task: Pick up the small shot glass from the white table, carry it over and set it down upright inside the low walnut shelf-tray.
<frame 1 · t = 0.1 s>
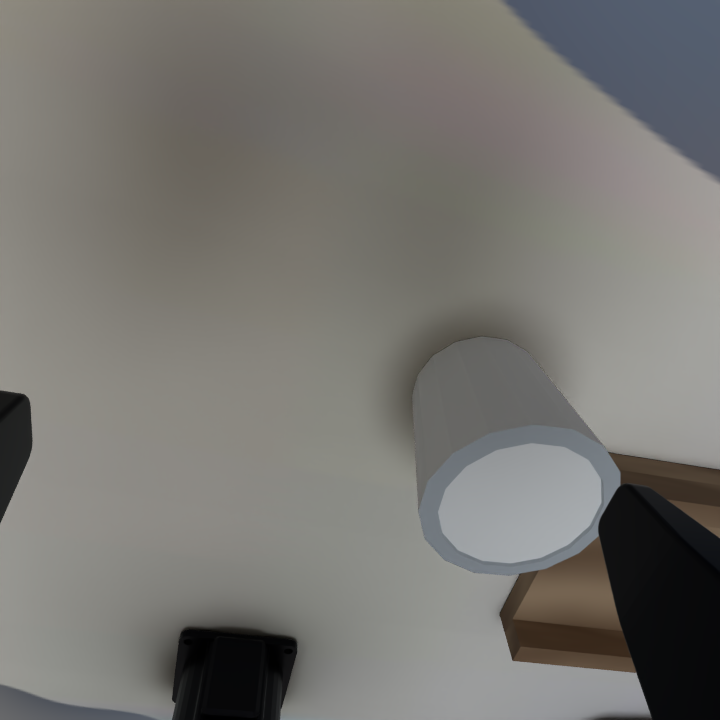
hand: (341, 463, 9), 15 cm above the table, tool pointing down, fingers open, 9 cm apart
tray: (677, 557, 32), on the table
shot glass: (475, 390, 26), on the table
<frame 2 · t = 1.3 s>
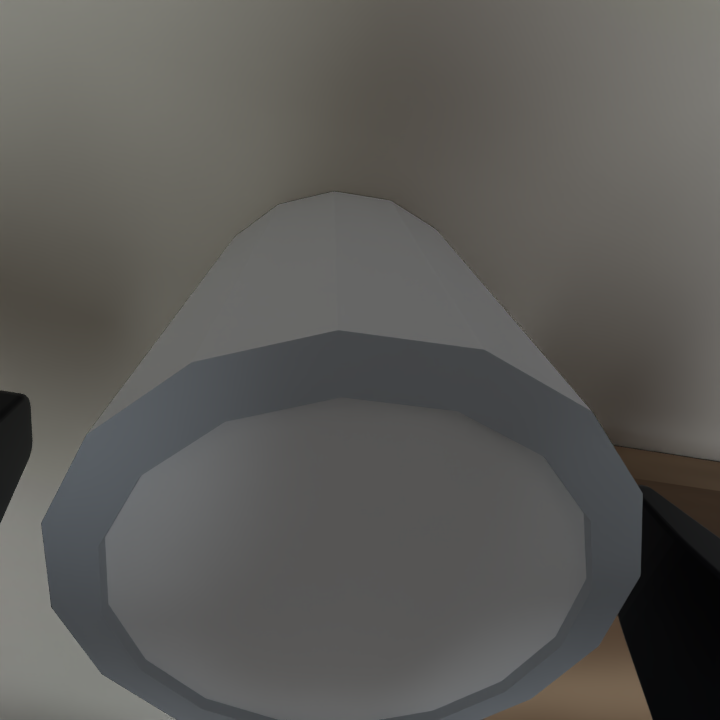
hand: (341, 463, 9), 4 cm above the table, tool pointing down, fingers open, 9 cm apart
shot glass: (339, 318, 13), on the table
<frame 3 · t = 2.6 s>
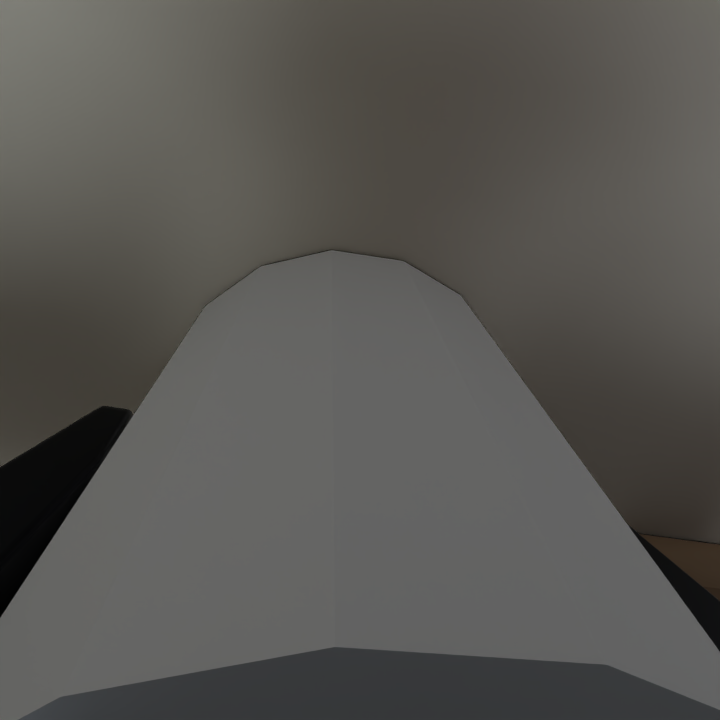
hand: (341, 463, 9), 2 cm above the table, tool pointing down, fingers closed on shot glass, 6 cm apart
shot glass: (338, 399, 11), on the table, touching gripper
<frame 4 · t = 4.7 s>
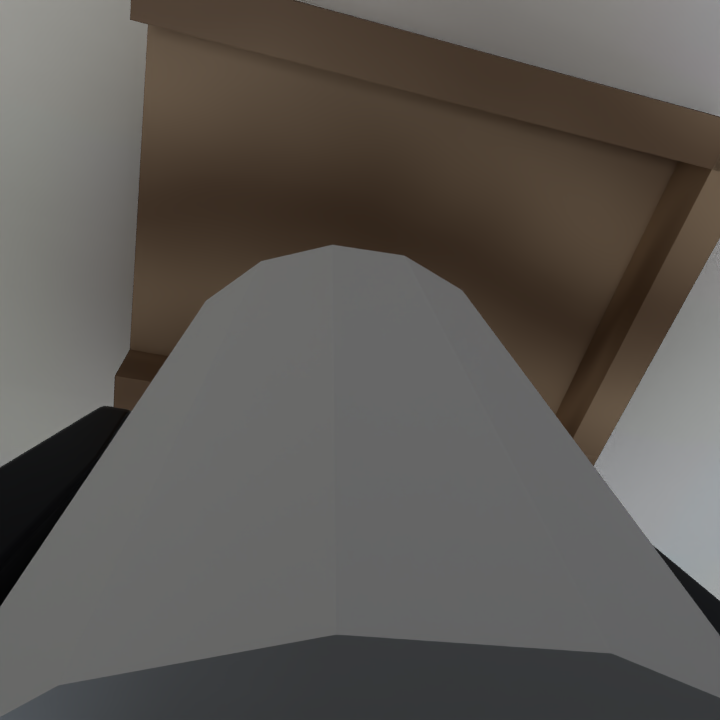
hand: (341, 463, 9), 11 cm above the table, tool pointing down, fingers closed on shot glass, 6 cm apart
tray: (402, 249, 20), on the table
shot glass: (339, 395, 11), point 10 cm above the table, touching gripper
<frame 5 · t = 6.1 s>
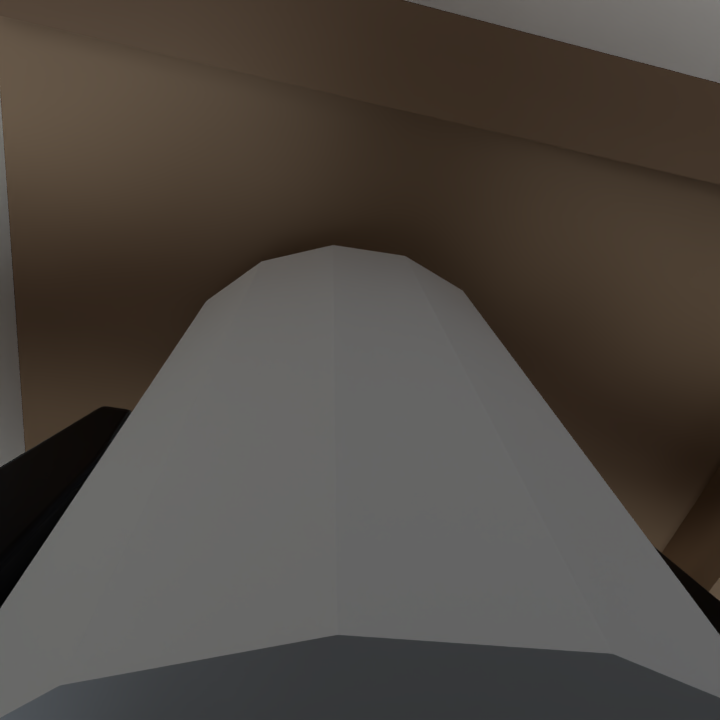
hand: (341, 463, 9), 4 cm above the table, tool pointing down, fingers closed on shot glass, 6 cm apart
tray: (433, 347, 13), on the table
shot glass: (340, 395, 11), point 2 cm above the table, touching gripper
when the fingers open (4 cm above the table, at t = 6.9 s): shot glass drops 1 cm, resting on tray.
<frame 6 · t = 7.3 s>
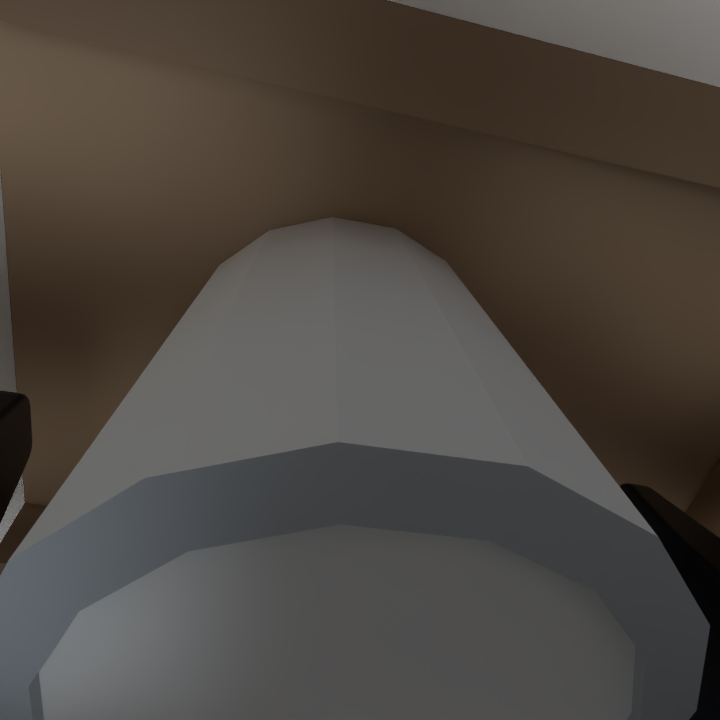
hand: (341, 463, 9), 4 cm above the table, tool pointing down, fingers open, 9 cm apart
tray: (429, 348, 13), on the table
shot glass: (335, 354, 12), point 1 cm above the table, touching tray
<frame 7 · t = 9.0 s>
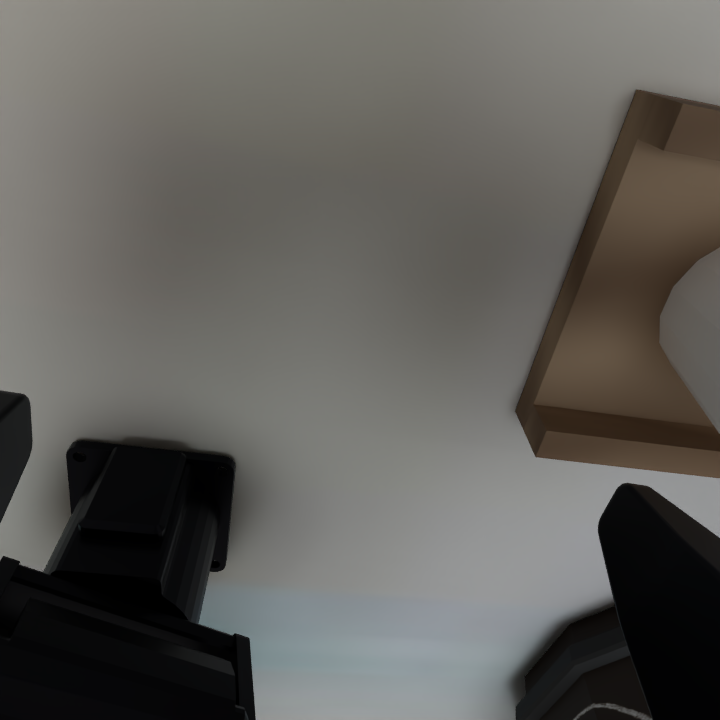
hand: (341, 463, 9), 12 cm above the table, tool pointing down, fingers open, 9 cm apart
black ribbed pot: (656, 676, 35), on the table
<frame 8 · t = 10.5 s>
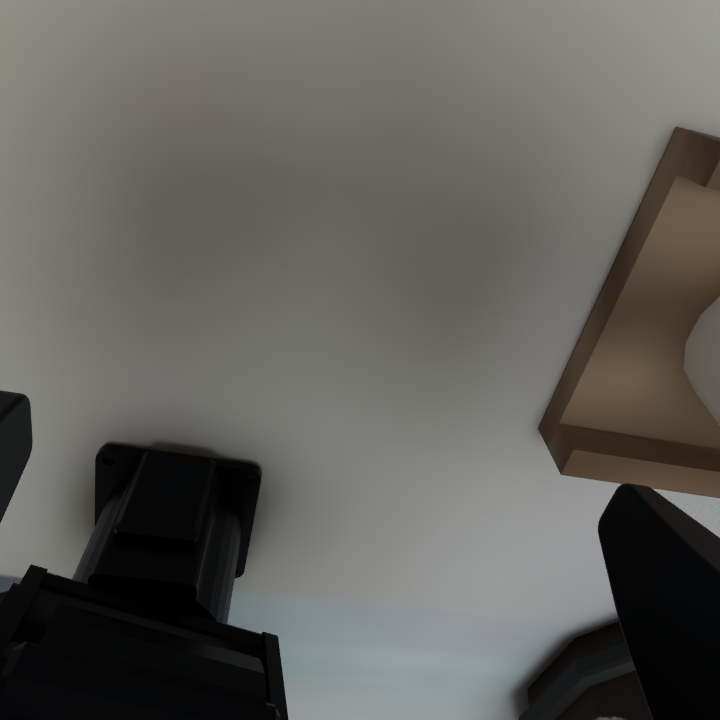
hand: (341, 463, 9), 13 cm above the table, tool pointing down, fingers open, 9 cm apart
black ribbed pot: (654, 691, 35), on the table
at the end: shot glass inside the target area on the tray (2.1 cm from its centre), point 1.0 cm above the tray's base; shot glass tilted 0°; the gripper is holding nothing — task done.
